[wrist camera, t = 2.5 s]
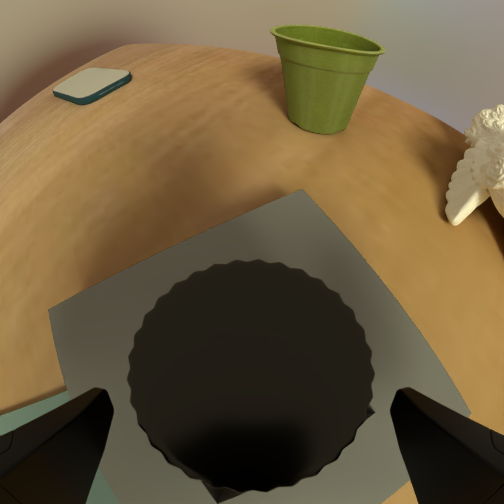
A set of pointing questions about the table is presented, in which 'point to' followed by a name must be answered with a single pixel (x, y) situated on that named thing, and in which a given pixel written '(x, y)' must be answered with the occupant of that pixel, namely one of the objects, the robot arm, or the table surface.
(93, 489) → the mat
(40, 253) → the table surface
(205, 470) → the supplement bottle
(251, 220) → the pocket holder
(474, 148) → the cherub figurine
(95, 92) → the external hard drive
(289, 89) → the plant pot
